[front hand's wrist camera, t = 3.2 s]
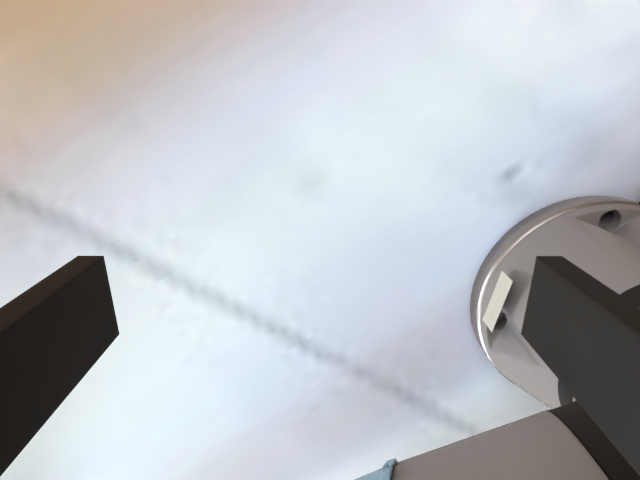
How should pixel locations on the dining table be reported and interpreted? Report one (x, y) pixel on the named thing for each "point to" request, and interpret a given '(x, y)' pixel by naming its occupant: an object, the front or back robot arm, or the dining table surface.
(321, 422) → the dining table surface
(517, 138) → the dining table surface
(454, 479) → the front robot arm
